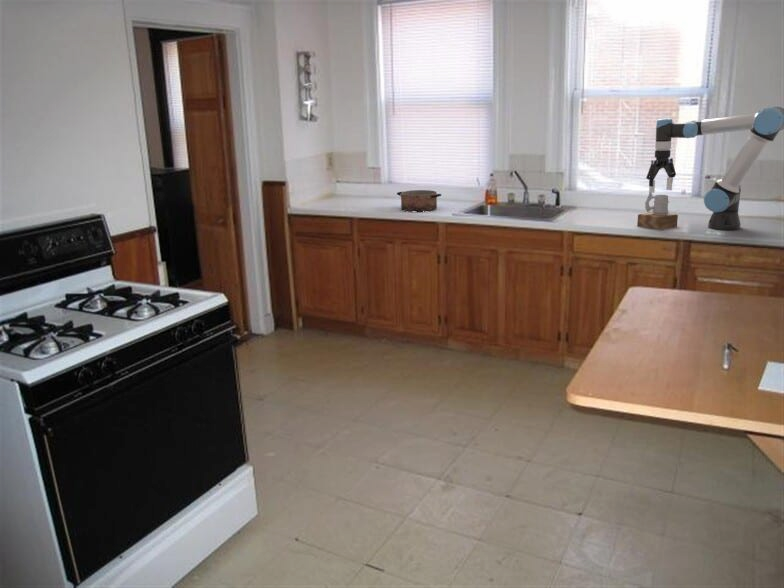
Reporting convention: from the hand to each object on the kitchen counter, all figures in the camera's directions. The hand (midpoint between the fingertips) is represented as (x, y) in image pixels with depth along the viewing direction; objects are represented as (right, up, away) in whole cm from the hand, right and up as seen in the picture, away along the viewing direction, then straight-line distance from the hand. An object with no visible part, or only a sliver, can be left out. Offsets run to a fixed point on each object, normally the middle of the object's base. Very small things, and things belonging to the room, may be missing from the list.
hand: (660, 191), depth 368 cm
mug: (-1, -12, +4) cm, 12 cm away
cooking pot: (-123, 0, +79) cm, 146 cm away
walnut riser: (0, -18, +5) cm, 18 cm away
